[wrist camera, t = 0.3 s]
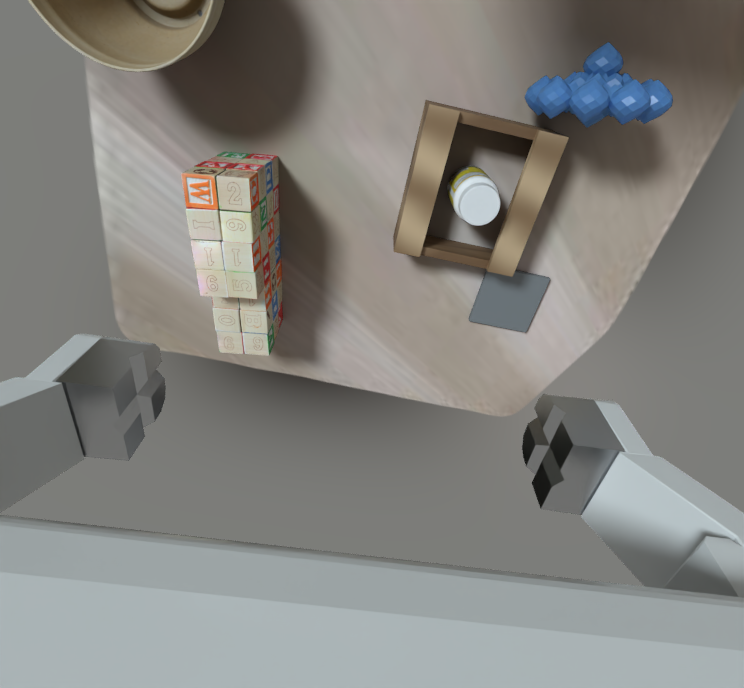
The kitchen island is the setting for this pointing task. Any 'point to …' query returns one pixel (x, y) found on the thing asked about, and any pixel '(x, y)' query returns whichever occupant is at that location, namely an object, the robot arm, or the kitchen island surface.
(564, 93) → the grapes
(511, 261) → the crate
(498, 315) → the slate pad
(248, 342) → the stack of blocks
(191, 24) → the planter bowl
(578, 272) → the kitchen island surface
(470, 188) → the supplement bottle
